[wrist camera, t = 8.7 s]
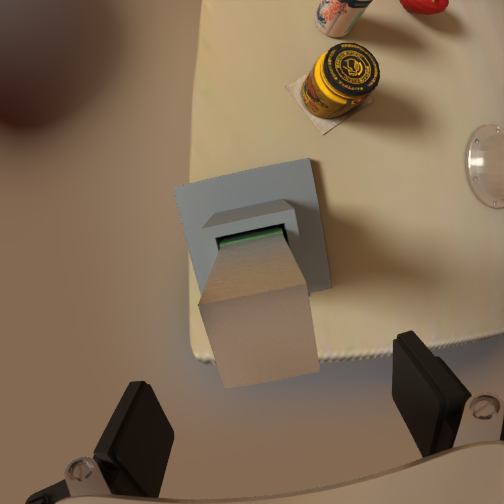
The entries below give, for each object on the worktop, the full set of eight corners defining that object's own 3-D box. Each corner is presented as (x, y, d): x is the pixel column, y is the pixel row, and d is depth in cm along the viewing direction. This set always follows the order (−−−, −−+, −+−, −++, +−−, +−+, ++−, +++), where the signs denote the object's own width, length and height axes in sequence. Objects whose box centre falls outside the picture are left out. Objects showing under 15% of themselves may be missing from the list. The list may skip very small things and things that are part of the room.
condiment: (285, 87, 34) (300, 53, 23) (338, 55, 33) (369, 16, 21) (321, 135, 36) (352, 120, 24) (372, 101, 34) (417, 78, 23)
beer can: (313, 7, 31) (333, -42, 19) (348, 12, 31) (378, -32, 19) (313, 36, 32) (336, -9, 21) (350, 41, 32) (384, 1, 21)
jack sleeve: (307, 158, 36) (330, 153, 25) (329, 283, 40) (355, 324, 29) (176, 187, 37) (145, 194, 26) (208, 308, 41) (194, 356, 30)
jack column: (277, 221, 31) (308, 280, 14) (287, 271, 32) (321, 372, 15) (224, 232, 31) (195, 303, 14) (236, 282, 32) (223, 390, 16)
